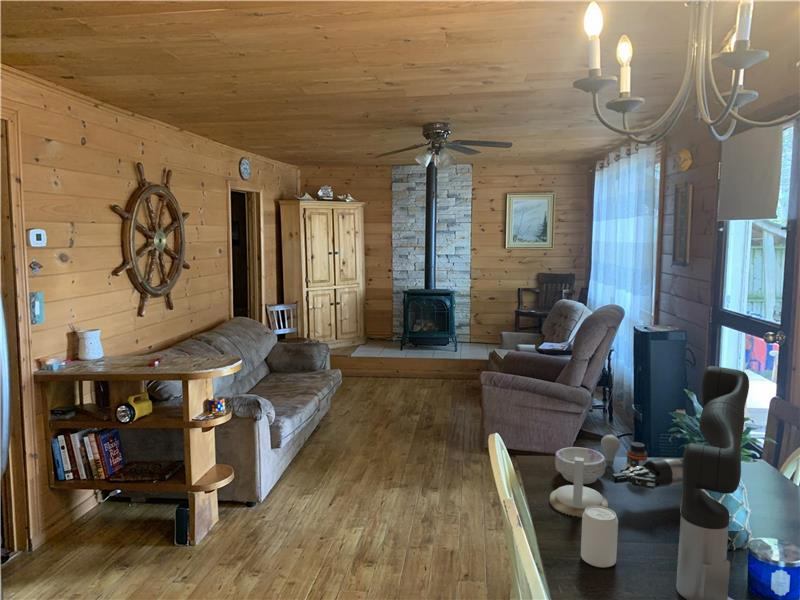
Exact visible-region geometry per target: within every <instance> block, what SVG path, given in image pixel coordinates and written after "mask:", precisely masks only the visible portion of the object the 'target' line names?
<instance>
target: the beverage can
mask: <svg viewBox="0 0 800 600" xmlns="http://www.w3.org/2000/svg"><path fill="white" fill-rule="evenodd" d="M581 518H582V519H581V538H580V539H581V542H580V558H581V559H582V560H583V561H584V562H585V563H587V564H589V565H590V566H593V567H595V568H609V567H612V566H614V565H615V564H616V563H617V552H618V551H617V550H618V549H617V548H618V533H619V530H618V529H619V520H618V517H617V513H616V512H615V511H614V510H612V509H611V508H606V507H602V506H590V507H587V508H586V509H585V512H584V513H583V515H582V517H581Z"/></svg>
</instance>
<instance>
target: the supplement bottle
mask: <svg viewBox="0 0 800 600" xmlns="http://www.w3.org/2000/svg"><path fill="white" fill-rule="evenodd" d="M626 455H627V456H626V463H628V464H630V467H636V466H643V465H644V464H645V463H646V462H647V461H648V452H647V451H646V450H645V444H644V443H642V442H637V441H633V442H631V443H630V448H629V449H628V450H627V453H626Z"/></svg>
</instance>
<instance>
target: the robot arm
mask: <svg viewBox="0 0 800 600" xmlns="http://www.w3.org/2000/svg"><path fill="white" fill-rule="evenodd" d="M700 390H701V392H700V396H701V398H700V399H701V413H700V419H699V424H698V425H699V427H698V428H699V430H700V434H701V436H702V435H703V437H704V438H705V439H706V441H707V442H708V443H709V444H710V445H711V446H707V445H701V443H688V444H687V445H686V446H685V448H684V451H683V455H682V457H679V458H678V457H677V458H670V457H668V458H661V459H653V460H647V462H646V463H645V464H644V465H643V466H636V467H630V464H628V463H627V462H626V463H624V464H623V465H622V467H620V470H619V472H618V473H612V474H611V476H610V481H611V482H612V483H613V484H622V483H626V484H631V486H633V487H637V488H646V489H652V490H655V488H662V487H663V488H664V487H669V486H670V487H671V486H677V485H679V484H682V488H681V489H682V492H681V493H682V495H681V509H680V522H679V540H678V553H677V567H676V569H677V570H676V583H675V584H676V591H677V593H678V594H679V595H680V596H681V597H683V598H684V599H686V600H728V599H729V597H728V594H729V585H730V583H729V582H730V581H729V580H730V571H731V570H730V569H731V562H730V561H729V560H728V559H727V555H728V554H727V553H728V544H729V543H728V542H729V541H728V540H729V531H730V530H729V528H730V512H729V510H728V509H727V507H726V506H725V505H724V504H722V503H721V502H720V501H718V500H715V499H714V498H712V497H711V496H709V495H707V494H706V493H705V492H704V491H703V490H705V491H710V492H715V493H719V494H728V495H730V494H733V493H735V492H736V491H737V490H738V487H739V485H740V482H741V477H742V476H741V475H742V454H741V453H742V452H741V451H742V440H743V435H744V430H745V429H744V428H745V408H746V404H747V399H748V395H749V391H750V379H749V377H748V374H747V373H746V372H745V371H743V370H739V369H734V368H730V367H721V366H715V365H710V366H707V367H705V369H704V371H703V374H702V378H701V387H700ZM702 408H703V410H702Z"/></svg>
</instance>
